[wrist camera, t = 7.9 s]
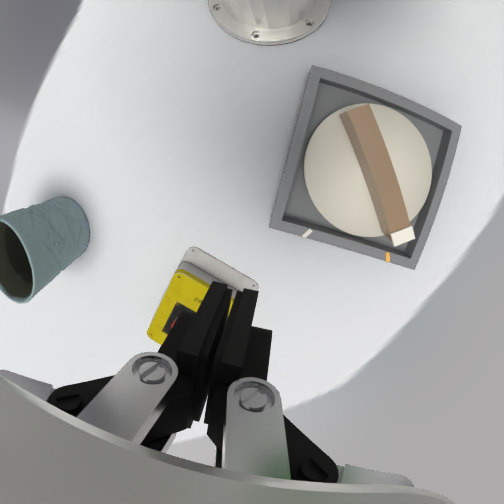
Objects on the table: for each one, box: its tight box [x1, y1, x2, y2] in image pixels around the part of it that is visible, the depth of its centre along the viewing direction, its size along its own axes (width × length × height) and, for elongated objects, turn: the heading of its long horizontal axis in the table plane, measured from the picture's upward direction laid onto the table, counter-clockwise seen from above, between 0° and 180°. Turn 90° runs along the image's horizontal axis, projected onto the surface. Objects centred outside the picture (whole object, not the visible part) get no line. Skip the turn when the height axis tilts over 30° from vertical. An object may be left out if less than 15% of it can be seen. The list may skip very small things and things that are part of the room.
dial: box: [304, 103, 432, 247], centre depth 25 cm, size 13×13×6 cm
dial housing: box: [269, 65, 462, 270], centre depth 27 cm, size 16×16×3 cm
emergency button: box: [147, 247, 258, 345], centre depth 36 cm, size 9×4×15 cm
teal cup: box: [0, 197, 90, 303], centre depth 30 cm, size 10×10×12 cm
